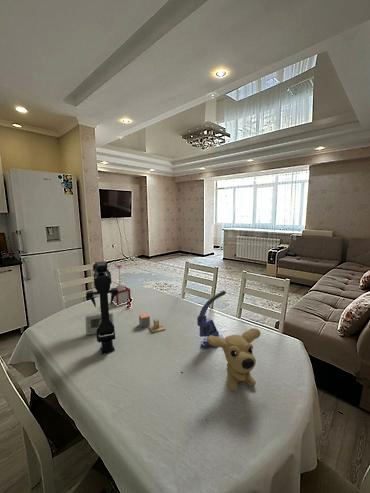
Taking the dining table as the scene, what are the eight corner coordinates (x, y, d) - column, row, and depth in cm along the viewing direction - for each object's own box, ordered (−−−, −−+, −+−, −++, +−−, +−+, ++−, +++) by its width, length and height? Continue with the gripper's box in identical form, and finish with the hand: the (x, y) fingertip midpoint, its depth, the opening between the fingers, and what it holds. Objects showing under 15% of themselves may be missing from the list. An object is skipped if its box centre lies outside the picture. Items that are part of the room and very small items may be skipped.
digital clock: (84, 336, 137) (83, 319, 136) (88, 328, 146) (87, 312, 145) (113, 334, 139) (112, 317, 138) (115, 326, 148) (114, 310, 147)
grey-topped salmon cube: (149, 325, 148) (149, 316, 147) (142, 327, 146) (141, 318, 145) (147, 322, 153) (146, 313, 152) (139, 324, 150) (139, 314, 149)
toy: (219, 405, 87) (220, 356, 84) (201, 371, 106) (201, 330, 103) (276, 390, 94) (278, 344, 91) (249, 361, 113) (251, 322, 110)
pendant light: (124, 298, 195) (122, 263, 191) (130, 302, 187) (128, 266, 182) (111, 302, 188) (109, 266, 184) (117, 306, 180) (115, 268, 175)
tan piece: (165, 329, 143) (164, 320, 142) (152, 333, 140) (152, 324, 139) (160, 324, 150) (159, 315, 149) (148, 327, 146) (147, 318, 146)
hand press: (205, 352, 120) (205, 300, 115) (194, 345, 127) (193, 295, 122) (230, 340, 131) (230, 292, 127) (218, 333, 138) (219, 288, 134)
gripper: (116, 276, 154) (117, 299, 156) (85, 279, 148) (87, 303, 150) (117, 281, 144) (119, 305, 146) (85, 284, 138) (87, 310, 140)
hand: (103, 305), depth 146 cm, fingers open, 9 cm apart
